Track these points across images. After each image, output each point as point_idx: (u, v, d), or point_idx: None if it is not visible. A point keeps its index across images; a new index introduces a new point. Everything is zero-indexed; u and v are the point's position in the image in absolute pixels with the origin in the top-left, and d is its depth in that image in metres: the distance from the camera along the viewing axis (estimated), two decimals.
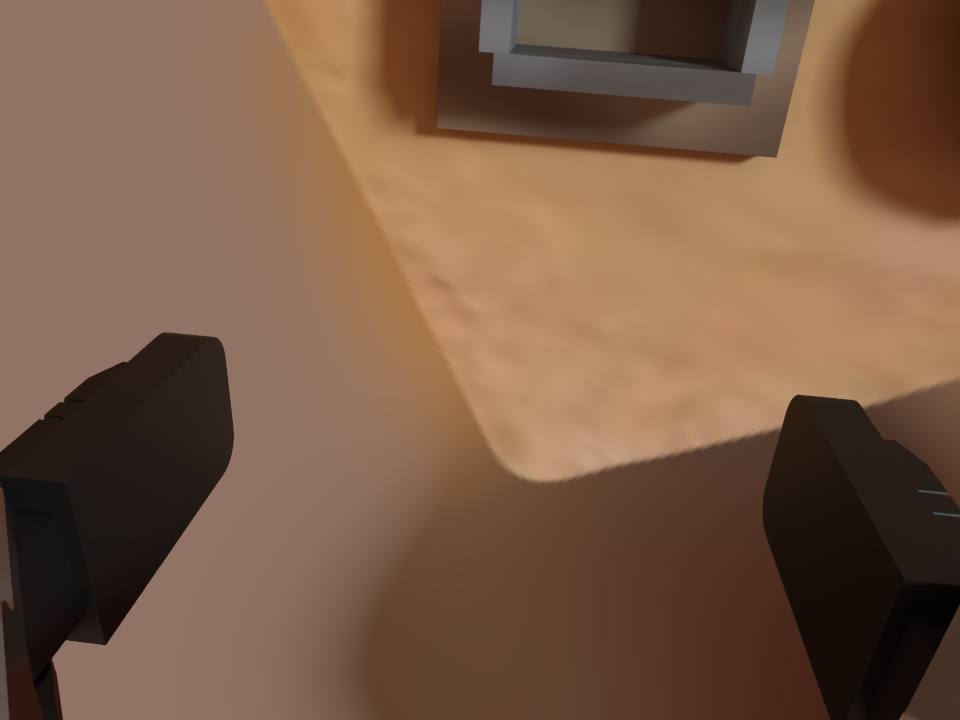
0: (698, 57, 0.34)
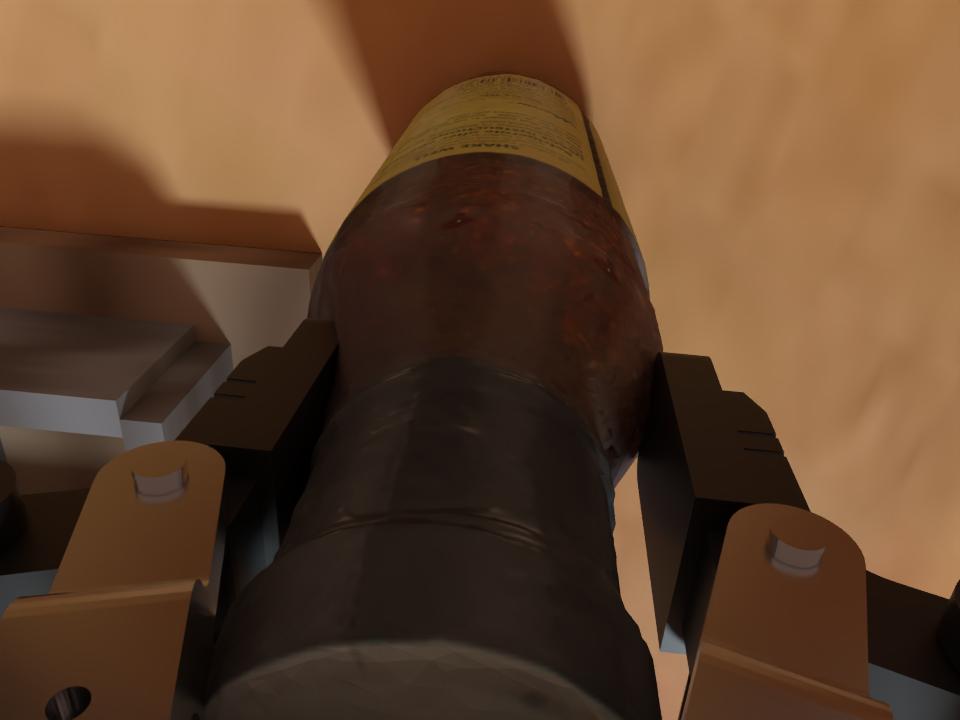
0: None
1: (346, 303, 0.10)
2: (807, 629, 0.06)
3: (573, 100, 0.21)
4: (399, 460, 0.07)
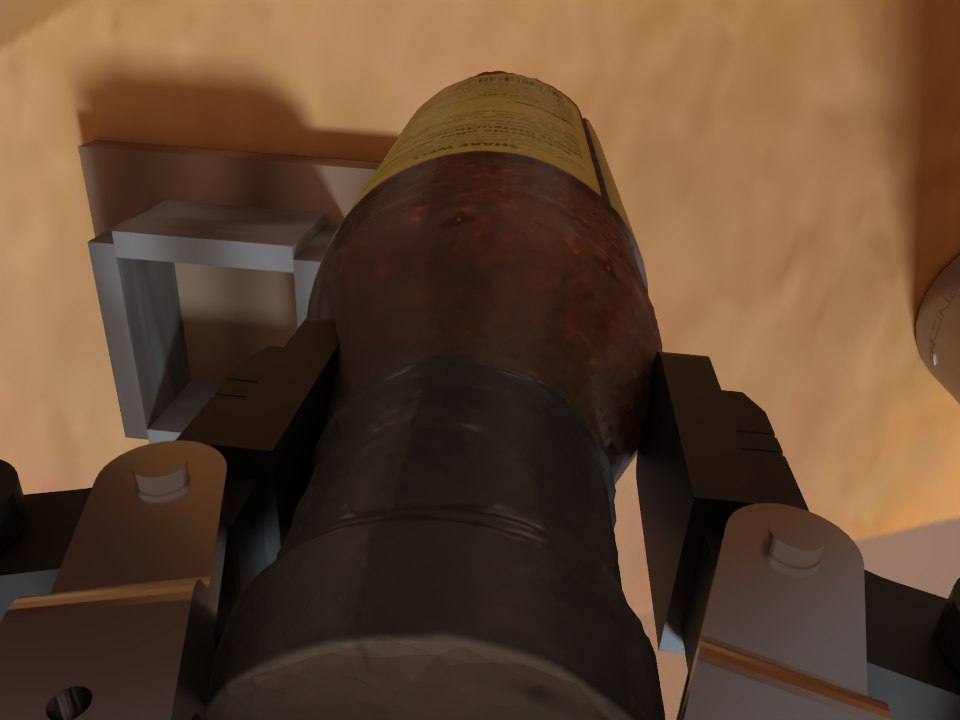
0: (189, 367, 0.41)
1: (346, 302, 0.10)
2: (806, 629, 0.06)
3: (570, 99, 0.22)
4: (401, 457, 0.07)
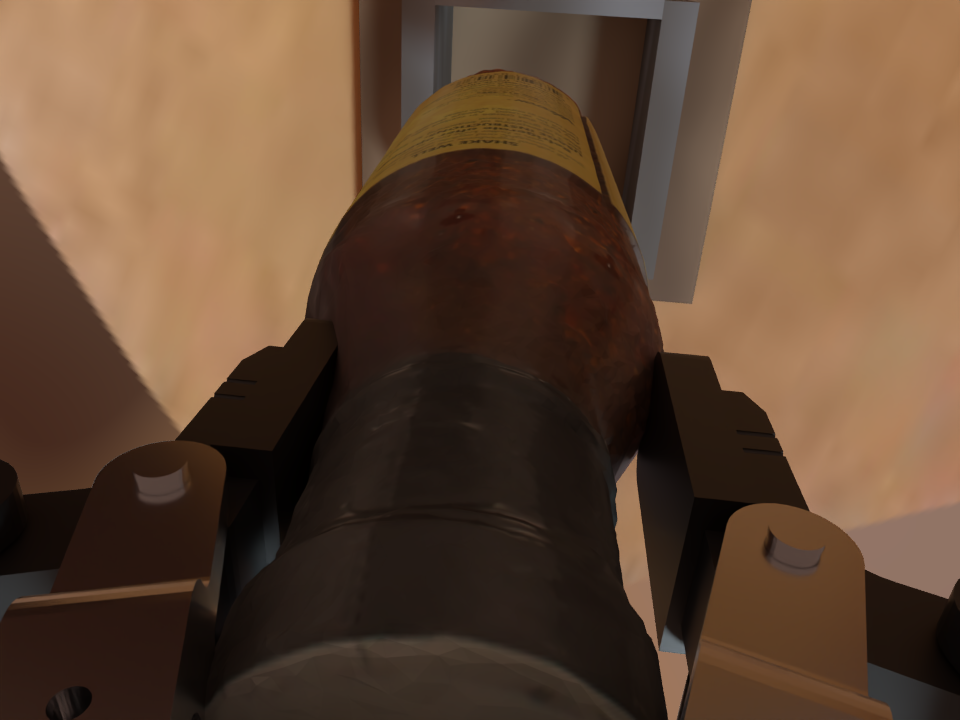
0: None
1: (346, 299, 0.10)
2: (807, 629, 0.06)
3: None
4: (401, 455, 0.07)
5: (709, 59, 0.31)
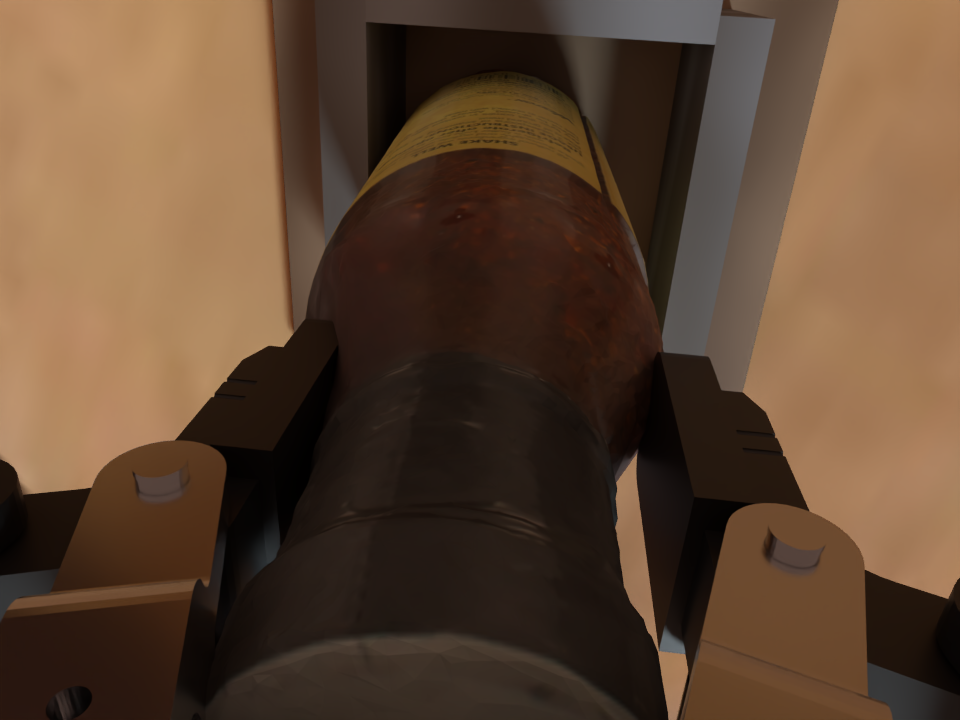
0: None
1: (346, 299, 0.10)
2: (807, 629, 0.06)
3: None
4: (402, 455, 0.07)
5: (770, 96, 0.22)
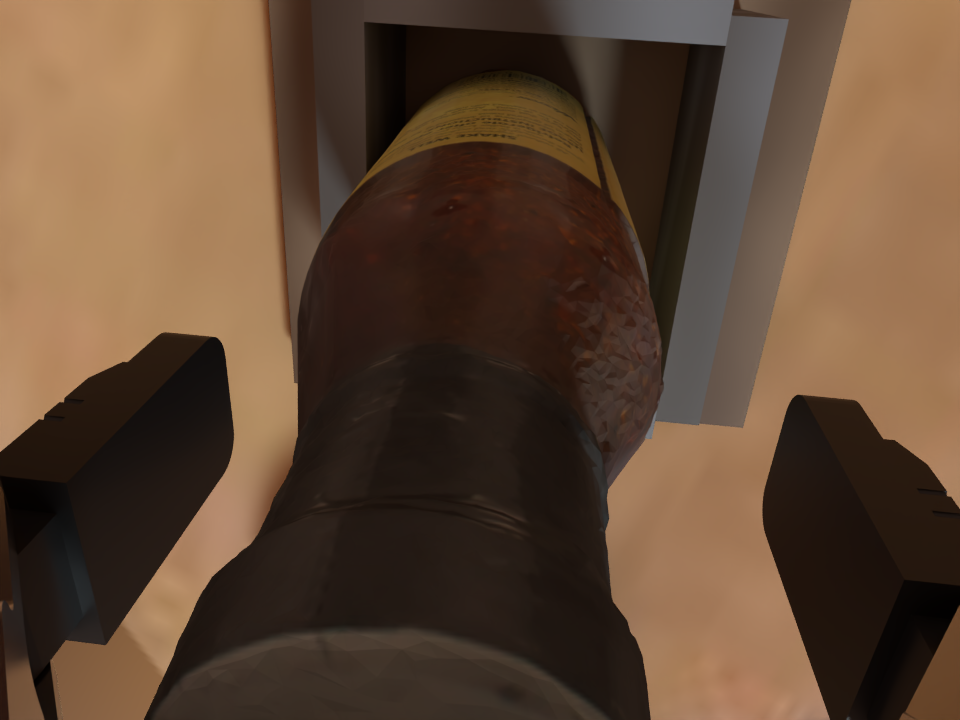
0: None
1: (334, 290, 0.10)
2: None
3: None
4: (379, 447, 0.07)
5: (780, 98, 0.21)
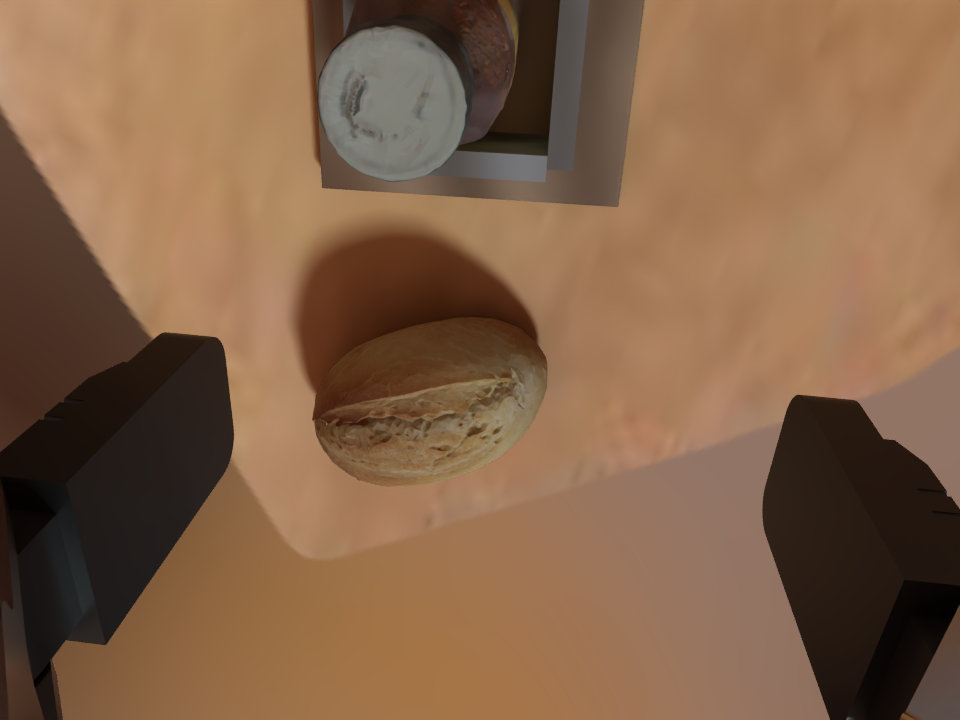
0: None
1: (363, 10, 0.24)
2: None
3: None
4: None
5: None
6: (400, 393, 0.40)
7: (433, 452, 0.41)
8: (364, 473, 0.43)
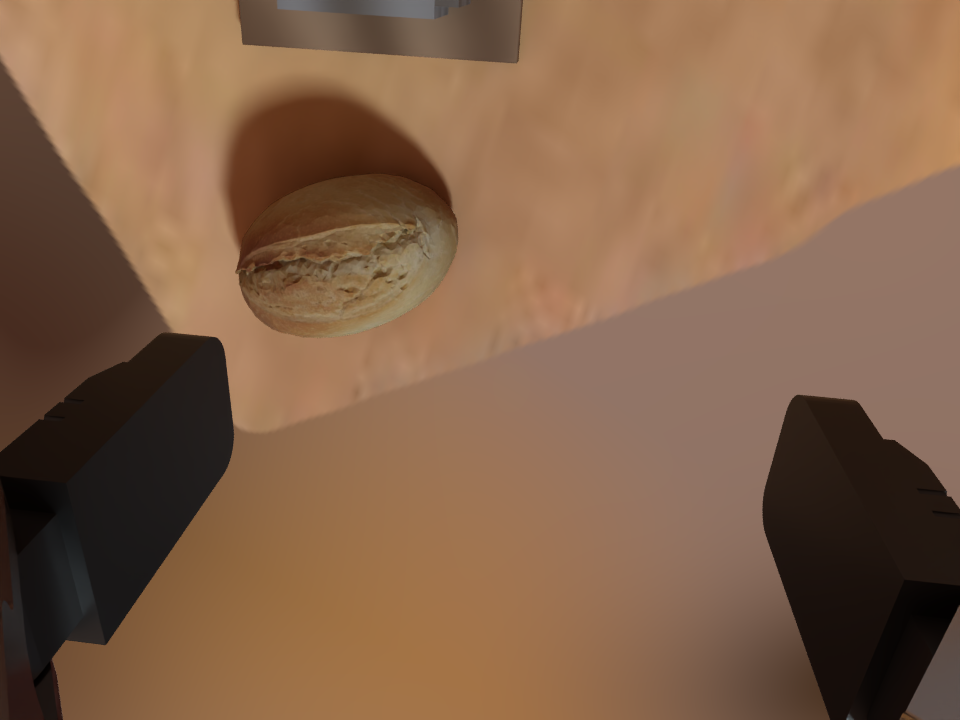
0: None
1: None
2: None
3: None
4: None
5: None
6: (308, 233, 0.42)
7: (341, 293, 0.44)
8: (280, 319, 0.46)
